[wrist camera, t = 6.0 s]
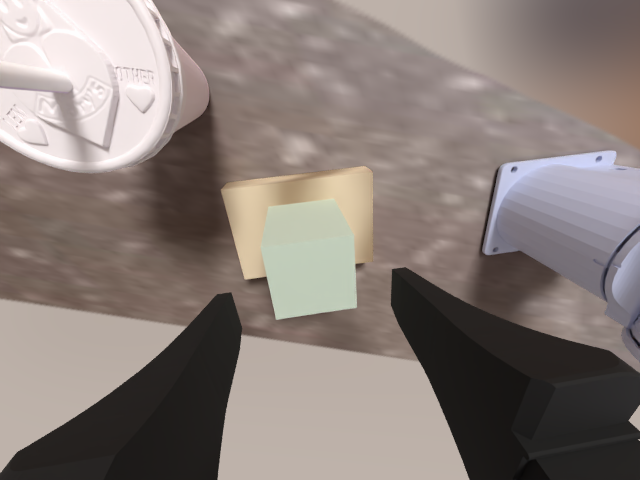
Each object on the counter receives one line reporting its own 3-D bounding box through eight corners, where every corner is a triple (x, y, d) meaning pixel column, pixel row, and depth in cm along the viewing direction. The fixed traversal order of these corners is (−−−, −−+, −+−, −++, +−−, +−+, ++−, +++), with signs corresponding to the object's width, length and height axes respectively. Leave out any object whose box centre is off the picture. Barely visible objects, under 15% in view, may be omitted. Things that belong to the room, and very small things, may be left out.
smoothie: (157, 156, 18) (-165, 268, 5) (93, 42, 15) (-1026, -360, 2) (248, 126, 17) (151, 164, 5) (202, 5, 15) (-328, -661, 2)
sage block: (334, 198, 18) (353, 235, 13) (338, 255, 20) (356, 307, 15) (268, 206, 18) (260, 247, 12) (279, 263, 20) (276, 319, 14)
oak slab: (364, 166, 19) (372, 171, 18) (366, 249, 22) (373, 261, 21) (227, 182, 19) (220, 190, 17) (248, 265, 22) (244, 279, 20)
